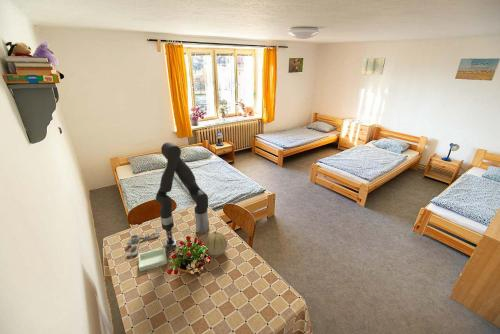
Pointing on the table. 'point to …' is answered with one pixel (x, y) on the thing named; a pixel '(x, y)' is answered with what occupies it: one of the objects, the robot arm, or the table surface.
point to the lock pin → (168, 241)
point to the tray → (152, 259)
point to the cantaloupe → (216, 243)
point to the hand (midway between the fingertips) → (170, 240)
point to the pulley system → (135, 239)
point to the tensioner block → (170, 244)
